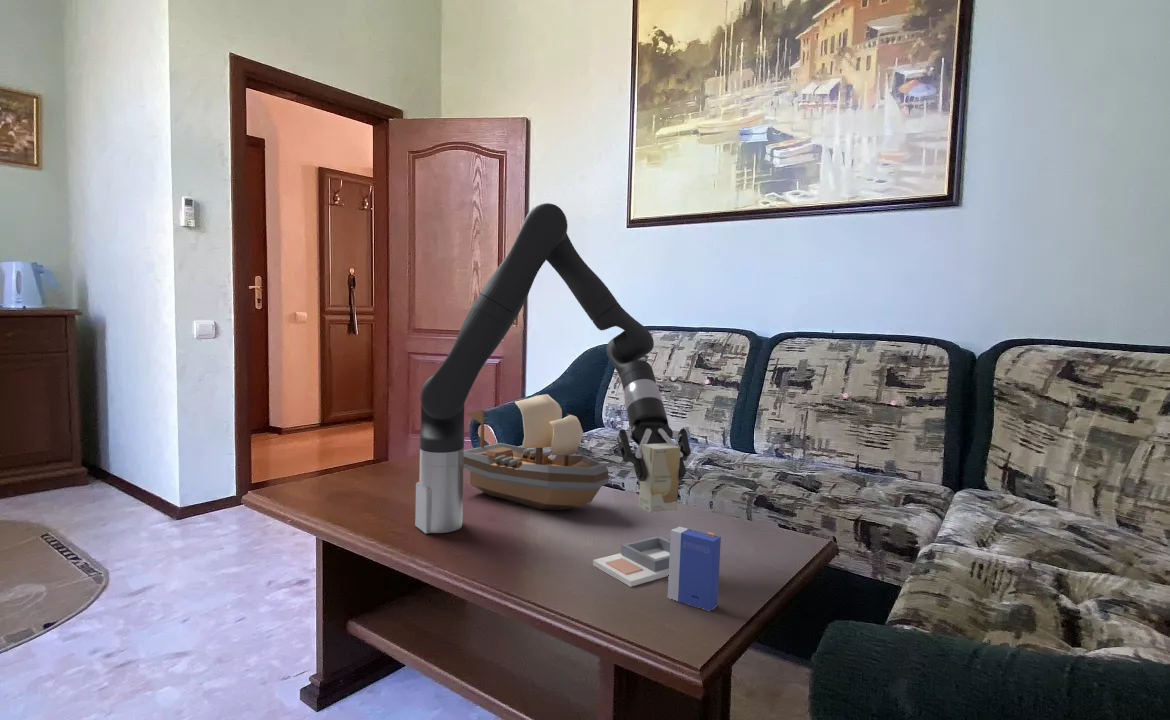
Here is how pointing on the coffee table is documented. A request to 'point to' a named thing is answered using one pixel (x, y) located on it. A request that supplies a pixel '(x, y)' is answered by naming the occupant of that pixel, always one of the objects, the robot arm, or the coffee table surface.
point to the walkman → (694, 567)
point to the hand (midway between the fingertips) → (662, 478)
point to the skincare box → (660, 477)
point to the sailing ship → (537, 461)
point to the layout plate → (638, 561)
